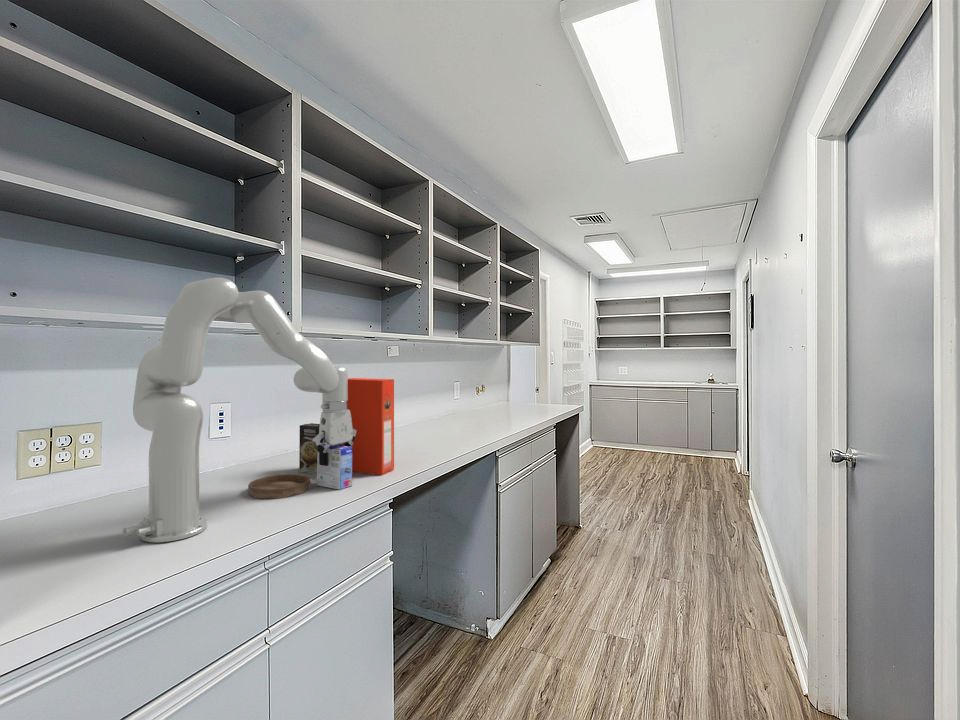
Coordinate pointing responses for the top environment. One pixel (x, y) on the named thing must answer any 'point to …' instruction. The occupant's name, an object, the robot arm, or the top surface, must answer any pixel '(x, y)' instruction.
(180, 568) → the top surface
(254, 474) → the top surface
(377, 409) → the file binder
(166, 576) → the top surface
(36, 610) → the top surface
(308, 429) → the coffee box
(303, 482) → the round tray
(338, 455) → the ink cartridge box
